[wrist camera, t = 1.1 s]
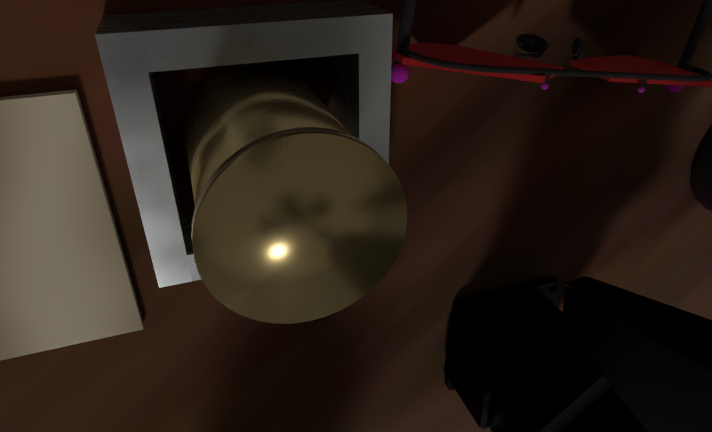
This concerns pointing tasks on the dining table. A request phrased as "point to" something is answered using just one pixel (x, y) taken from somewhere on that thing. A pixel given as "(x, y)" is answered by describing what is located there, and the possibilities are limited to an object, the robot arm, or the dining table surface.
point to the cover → (285, 198)
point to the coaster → (56, 232)
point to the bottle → (703, 174)
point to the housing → (231, 47)
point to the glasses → (533, 71)
